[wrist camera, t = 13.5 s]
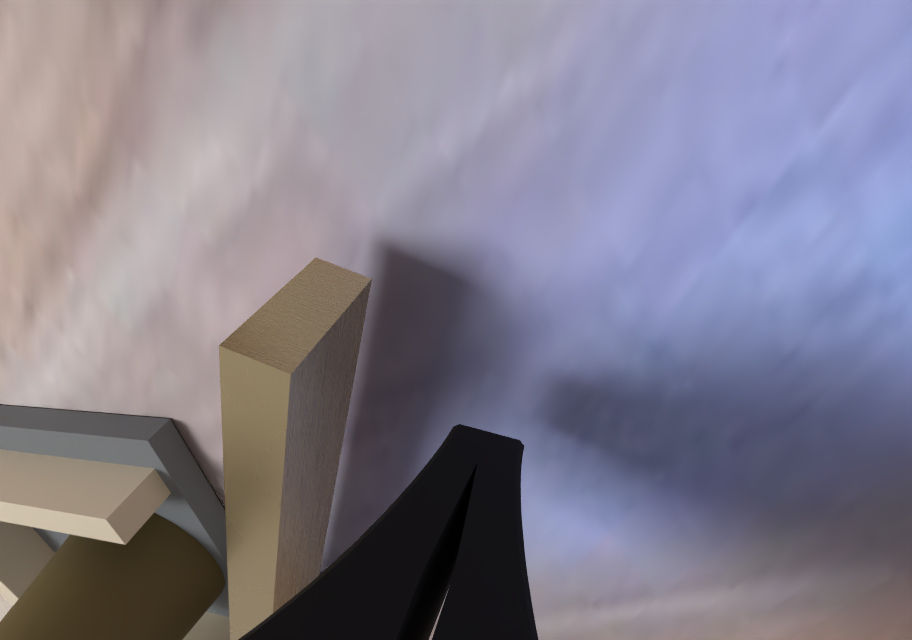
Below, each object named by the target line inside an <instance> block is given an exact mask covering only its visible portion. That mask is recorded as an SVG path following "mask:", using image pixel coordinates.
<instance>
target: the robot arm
mask: <svg viewBox="0 0 912 640" xmlns="http://www.w3.org/2000/svg"><path fill="white" fill-rule="evenodd" d="M523 450H524V445H523V444H522V443H521V441H520V440H517V439H513V438H509V437H506V436H502V435H498V434H494V433H491V432H487V431H483V430H480V429H476V428H472V427H468V426H465V425H461V424H459V425H456V426H454V427H453V428H452V430H451V431H450V433H449V435H448V436H447V438H446V439H445V441H444V442H443V443H442V445H441V446H440V448H439V449H438V450H437V452H436V453H435V454H434V456H433V457H432V458H431V460H430V461H429V462H428V463H427V465H426V466H425V467H424V468H423V470H422V471H421V472H420V473H419V474H418V476H417V477H416V478H415V479H414V480H413V481H412V483H411V484H410V485H409V486H408V487H407V488H406V489H405V491H404V492H403V493H402V494H401V495H400V496H399V497H398V499H397V500H396V501H395V502H394V503H393V504H392V505H391V506H390V507H389V508H388V510H387V511H386V512H385V513H384V514H383V515H382V516H381V517H380V518H379V519H378V520H377V521H376V522H375V523H374V524H373V525H372V526H371V527H370V528H369V529H368V530H367V531H366V532H365V533H364V534H363V535H362V536H361V537H360V538H359V539H358V540H357V541H356V542H355V543H354V544H353V545H352V546H351V547H350V548H349V549H348V550H346V551H345V552H344V553H343V554H342V555H341V556H340V557H339V558H338V559H337V560H336V561H335V562H334V563H332V564H331V565H330V566H329V567H328V568H327V569H326V570H324V571H323V572H322V573H321V574H320V575H319V576H318V577H317V578H315V579H314V580H313V581H312V582H311V583H310V584H308V585H307V586H306V587H305V588H304V589H302V590H301V591H300V592H299V593H297V594H296V595H295V596H294V597H292V598H291V599H290V600H289V601H288V602H286V603H285V604H284V605H283V606H281V607H280V608H279V609H278V610H277V611H275V612H274V613H273V614H271V615H270V616H269V617H268V618H266V619H265V620H264V621H262V622H261V623H260V624H259V625H257V626H256V627H255V628H253V629H252V630H251V631H249V632H248V633H246V634H245V635H244V636H242V637H241V638H239V639H238V640H429V637H430V635H431V632H432V629H433V627H434V624H435V622H436V619H437V617H438V614H439V612H440V609H441V606H442V604H443V601H444V599H445V596H446V594H447V596H446V599H445V602H444V605H443V608H442V611H441V614H440V617H439V620H438V623H437V626H436V629H435V632H434V635H433V638H432V640H538V636H537V631H536V625H535V620H534V614H533V608H532V602H531V596H530V589H529V582H528V576H527V568H526V560H525V551H524V540H523V529H522V517H521V464H522V455H523ZM449 586H450V587H449ZM448 588H449V590H448ZM447 591H448V593H447Z"/></svg>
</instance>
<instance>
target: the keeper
mask: <svg viewBox="0 0 912 640" xmlns="http://www.w3.org/2000/svg"><path fill="white" fill-rule="evenodd" d="M371 281H372V279H370V278H368V277H365V276H363V275H360V274H357V273H355V272H352V271H350V270H347V269H344V268H342V267H339V266H337V265H334V264H331V263H329V262H326V261H323V260H321V259H318V258H315V259H314V260H313V261H311V262H310V263H309V264H308V265H307V266H306V267H305V268H304V269H303V270H302V271H300V272H299V273H298V274H297V275H296V276H295V277H294V278H293V279H292V280H291V281H289V282H288V283H287V284H286V285H285V286H284V287H283V288H282V289H281V290H280V291H278V292H277V293H276V294H275V295H274V296H273V297H272V298H271V299H270V300H269V301H267V302H266V303H265V304H264V305H263V306H262V307H261V308H260V309H259V310H258V311H256V312H255V313H254V314H253V315H252V316H251V317H250V318H249V319H248V320H247V321H245V322H244V323H243V324H242V325H241V326H240V327H239V328H238V329H237V330H236V331H234V332H233V333H232V334H231V335H230V336H229V337H228V338H227V339H226V340H225V341H223V342H222V343H221V344H220V345H219V357H220V383H221V410H222V436H223V462H224V489H225V515H226V541H227V567H228V594H229V620H230V640H238V639H239V638H241V637H242V636H244V635H245V634H246V633H248V632H249V631H251V630H252V629H253V628H255V627H256V626H257V625H259V624H260V623H261V622H262V621H264V620H265V619H266V618H268V617H269V616H270V615H271V614H273V613H274V612H275V611H277V610H278V609H279V608H280V607H281V606H283V605H284V604H285V603H286V602H288V601H289V600H290V599H291V598H292V597H294V596H295V595H296V594H297V593H299V592H300V591H301V590H302V589H304V588H305V587H306V586H307V585H308V584H310V583H311V582H312V581H313V580H314V579H315V578H317V577H318V576H319V572H320V567H321V561H322V556H323V550H324V544H325V539H326V533H327V528H328V522H329V516H330V511H331V505H332V499H333V494H334V488H335V483H336V477H337V471H338V466H339V460H340V455H341V449H342V443H343V438H344V432H345V427H346V421H347V415H348V410H349V404H350V399H351V393H352V387H353V382H354V376H355V370H356V365H357V359H358V354H359V348H360V342H361V337H362V331H363V326H364V320H365V314H366V309H367V303H368V298H369V292H370V286H371Z"/></svg>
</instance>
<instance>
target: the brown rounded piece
mask: <svg viewBox="0 0 912 640" xmlns="http://www.w3.org/2000/svg"><path fill="white" fill-rule="evenodd" d="M224 587H225V579H224V575H223V571H222V570H221V568H220V567H219V565H218V564H217V562H216V561H215V559H214V558H213V556H212V555H211V554H210V553H209V552H208V551H207V550H206V549H205V548H204V547H203V546H202V545H201V544H200V543H199V542H198V541H197V540H196V539H195V538H193V537H192V536H191V535H189V534H188V533H187V532H185V531H184V530H182V529H181V528H180V527H178V526H177V525H176V524H174V523H172V522H170V521H169V520H167V519H165V518H163V517H161V516H160V515H158V514H156V513H153V514H152V515H151V517H150V518H149V519H148V520H147V521H146V522H145V523H144V525H143V526H142V527H141V528H140V529H139V530H138V531H137V532H136V534H135V535H134V536H133V537H132V538H131V539H130V540H129V541H128V543H127V544H126V545H124V544H119V543H114V542H108V541H103V540H98V539H93V538H87V537H82V536H77V535H71V534H70V535H69V536H68V538H67V539H66V540H65V541H64V543H63V544H62V545H61V546H60V548H59V549H58V550H57V551H56V553H55V554H54V555H53V556H52V558H51V559H50V560H49V561H48V563H47V564H46V565H45V566H44V568H43V569H42V570H41V572H40V573H39V574H38V575H37V577H36V578H35V579H34V580H33V582H32V583H31V584H30V585H29V587H28V588H27V589H26V590H25V592H24V593H23V594H22V595H21V597H20V598H19V599H18V600H17V602H16V603H15V604H14V605H13V607H12V608H11V609H10V610H9V612H8V613H7V614H6V615H5V617H4V618H3V619H2V620H1V622H0V640H183V639H184V637H185V636H186V635H187V634H188V633H189V631H190V630H191V629H192V628H193V627H194V625H195V624H196V623H197V622H198V621H199V619H200V618H201V617H202V616H203V615H204V614H205V612H206V611H207V610H208V609H209V608H210V606H211V605H212V604H213V603H214V602H215V600H216V599H217V598H218V597H219V596H220V594H221V593H222V591H223V589H224Z"/></svg>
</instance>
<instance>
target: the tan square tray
mask: <svg viewBox="0 0 912 640" xmlns="http://www.w3.org/2000/svg"><path fill="white" fill-rule="evenodd" d="M153 513H156V514H158V515H160V516H161V517H163V518H165V519H167V520H169V521H170V522H172V523H174V524H176V525H177V526H178V527H180V528H181V529H182V530H184V531H185V532H187V533H188V534H189V535H191V536H192V537H193V538H195V539H196V540H197V541H198V542H199V543H200V544H201V545H202V546H203V547H204V548H205V549H206V550H207V551H208V552H209V553H210V554H211V555H212V556H213V558H214V559H215V561H216V562H217V564H218V565H219V567H220V568H221V570H222V571H223V575H224V579H225V587H224V589H223V591H222V593H221V594H220V596H219V597H218V598H217V599H216V600H215V602H214V603H213V604H212V605H211V606H210V608H209V609H208V610H207V611H206V612H205V614H204V615H203V616H202V617H201V618H200V619H199V621H198V622H197V623H196V624H195V625H194V627H193V628H192V629H191V630H190V631H189V633H188V634H187V635H186V636H185V637H184V639H183V640H230V620H229V594H228V567H227V541H226V515H225V509H224V508H223V506H222V504H221V503H220V501H219V499H218V498H217V496H216V494H215V493H214V491H213V489H212V488H211V486H210V484H209V483H208V481H207V479H206V478H205V476H204V474H203V473H202V471H201V469H200V468H199V466H198V464H197V463H196V461H195V459H194V458H193V456H192V454H191V453H190V451H189V449H188V448H187V446H186V444H185V443H184V441H183V439H182V438H181V436H180V434H179V433H178V431H177V429H176V428H175V426H174V424H173V423H172V421H171V419H166V418H154V417H142V416H130V415H117V414H105V413H93V412H81V411H68V410H56V409H44V408H32V407H19V406H7V405H0V594H1V595H2V596H3V597H4V598H5V599H6V600H7V601H8V602H9V603H10V604H11V605H12V606H13V605H14V604H15V603H16V602H17V600H18V599H19V598H20V597H21V595H22V594H23V593H24V592H25V590H26V589H27V588H28V587H29V585H30V584H31V583H32V582H33V580H34V579H35V578H36V577H37V575H38V574H39V573H40V572H41V570H42V569H43V568H44V566H45V565H46V564H47V563H48V561H49V560H50V559H51V558H52V556H53V555H54V554H55V553H56V551H57V550H58V549H59V548H60V546H61V545H62V544H63V543H64V541H65V540H66V539H67V538H68V536H69V535H70V534H71V535H77V536H82V537H87V538H93V539H98V540H103V541H108V542H114V543H119V544H124V545H126V544H127V543H128V541H129V540H130V539H131V538H132V537H133V536H134V535H135V534H136V532H137V531H138V530H139V529H140V528H141V527H142V526H143V525H144V523H145V522H146V521H147V520H148V519H149V518H150V517H151V515H152V514H153Z"/></svg>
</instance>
